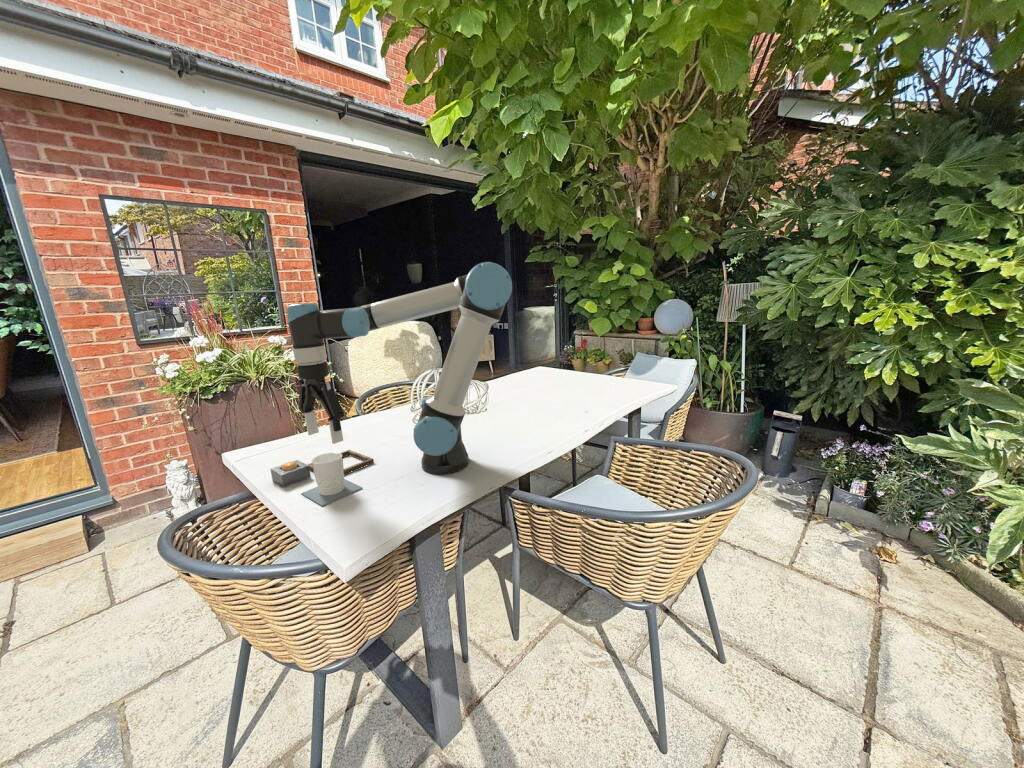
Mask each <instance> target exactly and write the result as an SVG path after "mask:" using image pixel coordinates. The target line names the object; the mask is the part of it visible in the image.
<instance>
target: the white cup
mask: <svg viewBox="0 0 1024 768" xmlns="http://www.w3.org/2000/svg"><path fill="white" fill-rule="evenodd" d="M341 453H342V452H327V453H326V452H325V453H322V454H319V455H316V456H315V457H314V458H312V460H311V463H312V465H313V470H314V472H313V474H314V478H315V482H316V485H317V487H318V490H319V493H320V494H321V495H324V496H329V495H334V494H337V493H339V492H341V491H342V490H344V487H345V485H344V479H345V475H344V469H345V468H344V462H343V461H344V460H343V458H344V457H343V458H342V454H341Z"/></svg>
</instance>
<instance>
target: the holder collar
mask: <svg viewBox="0 0 1024 768" xmlns="http://www.w3.org/2000/svg"><path fill="white" fill-rule="evenodd" d="M340 453H341V454H342V457H343V458H345V457H347V456H346V455H348V456H349V455H351V456H350V457H352V456H353V458H355V457H356V458H355V459H357V458H359V459H358V460H360V459H361V460H360V461H361V462H359V463H357V464H356V463H355V464H353V465H351V466H348V467H345V468H344V474H345V475H348V474H350V473H352V472H351V471H353V472H355V471H357V470H356V469H358V470H360V469H362V468H361V467H363V468H365V467H367V466H366V465H368V466H370V465H373V464H374V463H375V462H374V460H375V459H374V458H372V457H369V456H367V455H365V454H361V453H359V452H357V451H354V450H351V449H348V450H345V451H342V452H340ZM344 456H345V457H344ZM362 460H363V461H362ZM372 463H373V464H372ZM369 464H370V465H369ZM307 465H309V469H310V472H313V473H314V470H313V465H312V462H311V463H308V464H307ZM364 466H365V467H364ZM359 468H360V469H359ZM354 470H355V471H354ZM349 472H350V473H349ZM347 473H348V474H347Z"/></svg>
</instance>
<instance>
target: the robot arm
mask: <svg viewBox="0 0 1024 768" xmlns="http://www.w3.org/2000/svg"><path fill="white" fill-rule="evenodd" d="M512 292H513V282H512V278H511V276H510V274H509V272H508V271H507V270H506V269H505V268H504V267H503V266H502V265H500V264H498V263H495V262H492V261H484V262H480V263H478V264H475V266H473V267H472V268H471V269H470V270H469V272H468V273H467V274H464V275H462V276H458V277H456V279H455V280H454V281H452V282H449V283H445V284H441V285H438V286H433V287H429V288H427V289H422V290H418V291H414V292H411V293H406V294H403V295H399V296H395V297H391V298H388V299H383V300H380V301H376V302H372V303H369V304H368V303H367V304H364V305H360V306H356V307H349V308H337V309H326V310H324V309H322V310H321V309H320V308H319V305H318V304H317V303H315V302H314V303H313V302H311V303H297V304H290V305H288V306H287V307H286V317H287V324H288V329H289V333H290V338H291V342H292V353H293V356H294V357H293V358H294V362H295V363H296V364H297V366H296V372H297V377H298V379H299V380H298V382H299V397H298V398H299V399H298V401H299V402H298V403H299V404H298V408H299V410H302V412H303V413H304V420H305V425H306V430H307V434H308V436H312V435H316V434H318V433H320V432H319V431H320V430H319V425H318V421H317V414H316V411H315V410H316V408H315V402H316V399H317V400H318V401H320V404H321V405H322V407H323V409H324V411H325V412H326V415H327V416H328V419H327V421H328V425H329V431H330V437H331V443H332V444H334V445H335V444H338V443H340V442H344V437H343V430H342V426H341V425H342V424H341V418H343V417H345V413H344V410H343V409H342V406H341V404H340V401H339V399H338V398H339V397H338V395H337V394H336V391H335V389H334V384H333V381H326V379H325V378H326V377H328V376H329V375H330V369H329V364H328V362H327V361H326V360H327V354H326V352H327V348H326V347H325V340H329V339H345V338H354V339H356V338H360V337H365V336H367V335H368V334H369V332H371V331H376V330H378V329H382V328H386V327H390V326H393V325H398V324H402V323H405V322H409V321H413V320H418V319H422V318H425V317H429V316H430V317H431V316H433V315H437V314H441V313H444V312H449V311H453V310H457V309H459V310H460V311H459V312H460V314H461V315H460V317H459V320H458V323H457V326H456V329H455V331H454V335H453V337H452V339H451V342H450V345H449V349H448V351H447V354H446V358H445V360H444V362H443V365H442V368H441V371H440V374H439V377H438V380H437V383H436V386H435V388H434V392H433V394H432V395H428V396H427V395H426V396H424V397H422V398H421V401H420V407H421V412H420V415H419V417H418V420H417V423H416V424H415V425H414V428H413V435H412V436H413V441H414V444H415V445H416V447H417V448H418V450H420V451H421V452H422V453H423V454H422V458H421V461H420V462H421V469H422V470H423V471H424V472H426V473H429V474H432V475H433V474H434V475H444V474H445V475H446V474H452V473H455V472H459V471H462V470H463V469H465V468H467V467H468V465H469V463H470V459H469V458H470V457H469V454H468V452H467V449H466V447H465V445H464V442H463V439H462V424H463V421H464V418H465V414H466V411H465V408H464V406H463V405H464V402H465V399H466V396H467V395H468V394H467V393H468V391H469V388H470V386H471V383H472V380H473V377H474V375H475V372H476V370H477V366H478V363H479V361H480V358H481V355H482V354H483V353H482V352H483V350H484V346H485V345H486V342H487V340H488V339H487V338H488V337H489V334H490V331H491V328H492V326H493V325H494V324H497V323H498V322H500V319H501V317H502V314H503V312H504V309H505V306H506V303H507V302H508V301H509V299H510V298H511V295H512Z"/></svg>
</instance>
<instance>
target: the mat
mask: <svg viewBox="0 0 1024 768" xmlns="http://www.w3.org/2000/svg"><path fill="white" fill-rule="evenodd" d="M344 485H345V487H344V490H342V491H341V492H339V493H337V494H334V495H329V496H324V495H321V494H320V493H319V490H318V486H316V487H313V488H311V489H309V490H305V491H303V492H301V494H300V495H301V496H303V497H304V498H306V499H308V500H310V501H312V502H313V503H315V504H317V505H319V506H320V507H321V508H322V507H325V506H327V505H329V504H332V503H334V502H336V501H339V500H341V499H343V498H345V497H348V496H349V494H350V495H351V493H352V494H354V493H356V492H358V491H357V490H359V491H361V490H363V489H362V488H363V487H362V486H361V485H358V484H356V483H354V482H352V481H349V480H347V479H345V478H344ZM360 489H361V490H360ZM355 491H356V492H355ZM353 492H354V493H353ZM344 496H345V497H344ZM342 497H343V498H342ZM340 498H341V499H340ZM333 501H334V502H333ZM331 502H332V503H331Z"/></svg>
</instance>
